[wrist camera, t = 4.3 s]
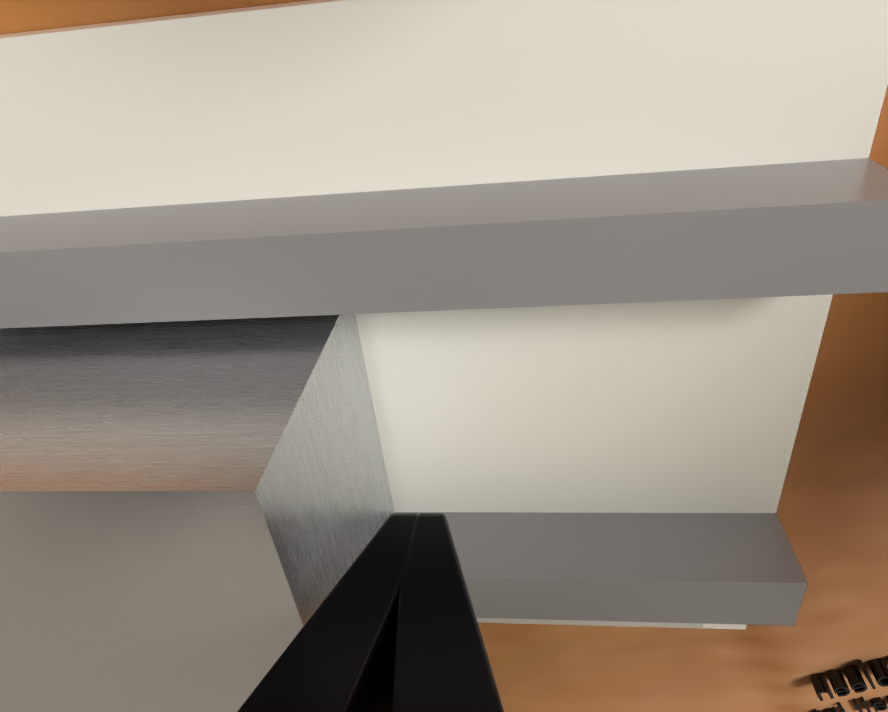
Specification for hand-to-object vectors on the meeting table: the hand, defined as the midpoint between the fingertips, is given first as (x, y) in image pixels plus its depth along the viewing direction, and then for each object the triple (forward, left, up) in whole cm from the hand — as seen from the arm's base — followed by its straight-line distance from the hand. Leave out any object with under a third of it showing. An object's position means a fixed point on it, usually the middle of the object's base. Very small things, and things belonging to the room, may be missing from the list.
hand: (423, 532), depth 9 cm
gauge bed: (+7, 0, -4) cm, 8 cm away
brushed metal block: (+4, +1, -3) cm, 5 cm away
